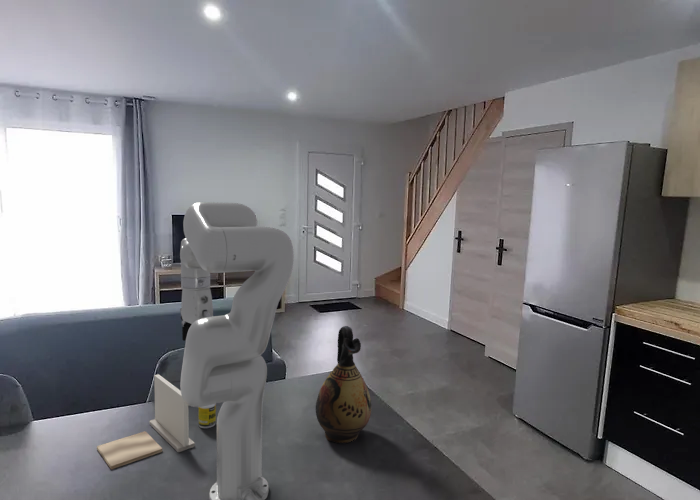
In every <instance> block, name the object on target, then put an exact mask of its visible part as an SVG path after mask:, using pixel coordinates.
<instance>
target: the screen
mask: <svg viewBox="0 0 700 500" xmlns="http://www.w3.org/2000/svg"><path fill="white" fill-rule="evenodd" d="M153 377H154V383H153V385H154V419H153V418H152V419H151V420H149V423H148V424H149V426H151V428H153V429H154V430H155V431H156V433H158V434H159V435H160V436H161V438H163V439H164V440H165V442H167V443H168V444H169V445H170V446H171V447H172V449H174V450H175V451H176V452H177V453H181V452H185V451H186V450H189V449H192V448H195V446H196V443H195V442H194V441H193V440H192V439H191V438H190V437H189V435H190V433H189V431H190V429H189V427H190V425H189V421H190V420H189V417H190V416H189V415H190V414H189V405H187V404H186V403H185V402H184V400H183V398H182V395H181V389H179V388H178V387H177V386H175V385H173V384H172V383H171V382H170V381H168V380H167V379H166V378H164V377H163V376H161V375H160V374H158V373H157V374H155V375H153Z"/></svg>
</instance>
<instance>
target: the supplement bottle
mask: <svg viewBox="0 0 700 500" xmlns="http://www.w3.org/2000/svg"><path fill="white" fill-rule="evenodd" d="M216 406H217V403H216V404H212V405H207V406H202V407H198V427H199V428H201V429H210V428H213V427H214V426H215V425H217V417H216V415H217V414H216V412H217V407H216Z"/></svg>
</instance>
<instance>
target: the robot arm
mask: <svg viewBox="0 0 700 500" xmlns="http://www.w3.org/2000/svg"><path fill="white" fill-rule="evenodd" d="M182 224H183V234H184V237H185V238H183V239H182V240H181V241H180V248H179V249H180V251H179V256H180V257H179V259H180V283H181V284H180V285H181V286H180V287H181V289H182V291H181V304H180V305H181V308H180V309H179V312H180V319H181V334H182V336H181V337H182V341H184V342H185V345H184V352H183V358H182V364H181V365H182V366H181V371H180V372H181V373H180V383H179V385H180V387H179V388H180V391H181V395H182V398H183V400H184V402H185V403H186V404H187V405H188V407H192V408H199V407H202V406H207V405H212V404H216V405H217V404H221V403H222V405H221V407H220V409H219V411H218V414H217V417H216V481H215V483H213V484H212V486H211V487H210V489H209V491H208V492H209V493H208V495H209V496H208V497H209V500H266V499H267V498H268V495H269V492H270V491H269V490H270V488H269V487H270V485H269V482H268V481H267V479H266V478H265V477H264V476H263V475H262V474H263V472H262V469H263V468H262V465H263V459H262V457H263V456H262V454H263V452H262V451H263V450H262V449H263V447H262V446H263V444H262V443H263V442H262V441H263V435H262V433H263V405H264V404H263V401H264V395H265V389H266V385H267V384H266V383H267V377H268V367H267V363H266V361H265V359H264V357H263V356H262V355H263V353H264V352H266V349H267V347H268V343H269V341H270V337H271V331H272V327H273V324H274V322H275V317H276V312H277V308H278V306H279V302H280V301H281V299H282V296H283V294H284V292H285V290H286V289H287V286H288V284H289V282H290V278H291V276H292V272H293V267H294V260H295V259H294V258H295V256H294V255H295V254H294V246H293V243H292V240H291V238H290V236H289V235H288V234H287V233H286V232H285V231H283V230H281V229H279V228H275V227H270V226H269V227H268V226H258V219H257V215H256V213H255V212H254V211H253V209H251V208H250V207H249V206H247V205H245V204H243V203H242V204H241V203H239V202H238V203H237V202H214V201H213V202H212V201H210V202H206V201H204V202H203V201H201V202H200V201H199V202H195V203H193V204H191V205H190V206H189V207H188V208H187V209H186V211H185V213H184V217H183V222H182ZM252 271H253V272H254V273H253V274H251V276H250V277H248V278H247V279H246V280H245V281H243V283H242V284H241V285H240V286H239V288H238V289H237V291H236V292H235V294H234V296H233V297H232V305H231V309H230V312H229V313H226V314H224V315H215V316H214V309H213V307H214V306H213V305H214V304H213V296H212V291H211V273H212V274H223V273H235V272H236V273H238V272H252Z"/></svg>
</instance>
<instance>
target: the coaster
mask: <svg viewBox="0 0 700 500" xmlns="http://www.w3.org/2000/svg"><path fill="white" fill-rule="evenodd" d="M96 451H98V453H99V454H100V456H101V457H102V459H103V460H104V462H105V463H106V464H107V466H108V467H109V469H110V470H115V469H117V468H120V467H122V466H125V465H128V464H131V463H133V462H136V461H140V460H143V459H145V458H149V457H151V456H154V455H157V454H160V453H162V452H163V447H162V446H161V445H160V444H159V443H157V441H156V440H155V439H154V438H153V437H152V436H151V435H150V434H149V433H148V432H147V431H146V430H145V431H144V430H143V431H141V432H138V433H135V434H132V435H129V436H125V437H121V438H119V439H115V440H112V441H109V442H107V443H103V444H99V445H96Z"/></svg>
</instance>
